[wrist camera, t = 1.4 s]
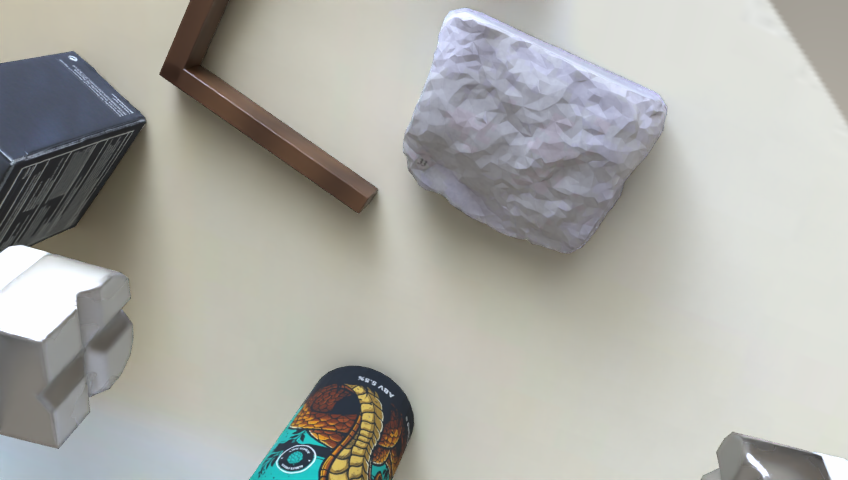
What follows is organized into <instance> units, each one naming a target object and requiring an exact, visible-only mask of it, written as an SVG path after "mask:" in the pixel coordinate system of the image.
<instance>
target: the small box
mask: <svg viewBox="0 0 848 480" xmlns="http://www.w3.org/2000/svg"><path fill="white" fill-rule="evenodd" d="M145 123H146V119H145V117H144V116H143V115H142V114H141V113H140V111H138V110H137V109H136V108H134V107H133V106H132V105H131V104H130V103H129V102H128V101H127V100H125V99H124V98H123V97H122V96H121V95H120V94H119V93H118V92H117V91H116V90H115V89H114V88H113V87H112V86H111V85H109V84H108V82H107V81H106V80H104V79H103V78H102V77H101V76H100V75H99V74H98V73H97V72H96V70H95V69H94V68H92V67H91V66H90V65H89V64H88V63H87V62H86V61H84V60H83V59H82V58H81V57H80V56H79V55H78V54H76V53H75V52H74V51H71V52H66V53H60V54H54V55H48V56H42V57H36V58H30V59H24V60H18V61H12V62H5V63H0V253H1V252H2V251H4V250H5V249H7V248H8V247H11V246H17V245H24V246H27V247H30V246H33V245H34V244H36V243H39V242H41V241H43V240H45V239H47V238H49V237H52V236H54V235H56V234H59V233H61V232H63V231H66V230H68V229H71V228H73V227H75V226H76V225H77V223H78V221H79V220H80V219H81V217H82V216H83V214H84V213H85V212H86V210H87V209H88V207H89V206H90V204H91V203H92V201H93V200H94V198H95V197H96V196H97V194H98V192H99V191H100V190H101V188H102V187H103V185H104V184H105V182H106V181H107V179H108V178H109V176H110V175H111V174H112V172H113V170H114V169H115V168H116V166H117V165H118V163H119V162H120V160H121V159H122V157H123V156H124V154H125V153H126V151H127V150H128V148H129V147H130V145H131V144H132V143H133V141H134V139H135V138H136V136H137V135H138V133H139V132H140V130H141V129H142V127H143V126H144V124H145Z"/></svg>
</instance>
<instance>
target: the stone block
mask: <svg viewBox="0 0 848 480" xmlns="http://www.w3.org/2000/svg"><path fill="white" fill-rule="evenodd" d="M438 40H439V43H438V47H437V49H436V51H435V53H434V59H433V64H432V67H431V70H430V73H429V76H428V79H427V81H426V84H425V86H424V89H423V91H422V94H421V96H420V99H419V102H418V104H417V105H416V107H415V110H414V114H413V117H412V120H411V122H410V124H409V126H408V127H407V129H406V132H405V136H404V141H403V153H404V154H405V155H406V156H407V159H408V161H407V163H408V169H409V172H410V173H411V174H412V175H413V177H414V178H415V180H416V181H417V183H418V184H419V186H421V187H422V188H424V189H425V190H429V191H432V192H436V193H439V194H441V195H442V196H444V197H445V198H447V200H448V201H449V202H450V204H451V205H452V206H454V207H455V208H457V209H458V210H460V211H462V212H463V213H465V214H466V215H467V216H469V217H471V218H473V219H475V220H477V221H479V222H481V223H486V224H487V225H488V226H490V227H491V228H493V229H495V230H497V231H498V232H499V233H503V234H506V235H508V236H511V237H514V238H518V239H527V240H528V241H530V242H531V243H532V244H536V245H540V246H544V247H547V248H549V249H553V250H556V251H559V252H562V253H571V252H573V251H575V250H577V249H579V248H581V247H583V246H584V244H585V243H586V242H587V241H588V240H589V239H590V237H591V236H592V235H593V234H594V233H595V231H596V230H597V228H598V227H599V225H600V223H601V222H602V221H603V220H604V217H605V215H606V214H607V212H608V211H609V210H610V209H612V208H613V206H614V204H615V202H616V201H617V200H618V198H619V197H620V196H621V193H622V189H623V185H624V182H625V180H626V179H627V178H628V177H629V176H630V174H631V173H632V171H633V170H634V169H635V168H636V166H637V165H639V164H640V163H641V162H642V160H643V159H644V158H645V157H646V156H647V155H648V153H649V152H650V150H651V149H652V147H653V146H654V144H655V143H656V141H657V140H658V138H659V137H660V135H661V133H662V131H663V129H664V122H665V118H666V115H667V106H666V104H665V103H664V101H663V99H662V98H661V96H660V95H659V94H658V93H656V92H654V91H652V90H649V89H647V88H645V87H643V86H641V85H639V84H636V83H634V82H632V81H630V80H627V79H625V78H623V77H621V76H619V75H616V74H614V73H612V72H610V71H608V70H605V69H603V68H601V67H599V66H597V65H594V64H592V63H590V62H588V61H586V60H584V59H582V58H579V57H577V56H575V55H573V54H571V53H569V52H566V51H564V50H562V49H560V48H557V47H555V46H553V45H551V44H549V43H547V42H544V41H542V40H539V39H537V38H535V37H533V36H531V35H529V34H526V33H524V32H522V31H520V30H518V29H516V28H514V27H512V26H510V25H508V24H505V23H503V22H500V21H499V20H497V19H495V18H492V17H490V16H488V15H486V14H484V13H482V12H478V11H475V10H472V9H469V8H462V9H457V10H453V11H450V12H449V13H448V15H447V16H446V17H445V19H444V22H443V24H442V27H441V30H440V33H439V36H438Z"/></svg>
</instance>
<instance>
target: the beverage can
mask: <svg viewBox="0 0 848 480" xmlns="http://www.w3.org/2000/svg"><path fill="white" fill-rule="evenodd" d="M413 426H414V417H413V412H412V408H411V404H410V402H409V400H408V398H407V396H406V395H405V393H404V392H403V391H402V389H401V388H400V387H399V386H398V385H397V384H396V383H395V382H394V381H393V380H391V379H390V378H389V377H387V376H385V375H384V374H382V373H381V372H378V371H376V370H373V369H370V368H366V367H361V366H345V367H340V368H337V369H334V370H332V371H330V372H328V373H327V374H325V375H324V376H323V377H322V378H321V379H320V380H319V381H318V383H317V384H316V385H315V387H314V388H313V390H312V391H311V393H310V394H309V395H308V397H307V398H306V400H305V401H304V403H303V404H302V405H301V407H300V408H299V410H298V411H297V412H296V414H295V415H294V417H293V418H292V420H291V421H290V422H289V424H288V425H287V427H286V428H285V430H284V431H283V432H282V434H281V435H280V437H279V438H278V440H277V441H276V442H275V444H274V445H273V447H272V448H271V450H270V451H269V452H268V454H267V455H266V457H265V458H264V459H263V461H262V462H261V464H260V465H259V467H258V468H257V469H256V471H255V472H254V474H253V475H252V477H251V478H250V479H249V480H392V479H393V476H394V474H395V472H396V469H397V467H398V465H399V462H400V460H401V458H402V455H403V453H404V451H405V448H406V446H407V444H408V441H409V439H410V437H411V434H412V431H413Z"/></svg>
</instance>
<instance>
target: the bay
mask: <svg viewBox="0 0 848 480" xmlns="http://www.w3.org/2000/svg"><path fill="white" fill-rule="evenodd" d="M228 2H229V0H190V2H189V5H188V7H187V10H186V12H185V14H184V17H183V19H182V21H181V24H180V26H179V29H178V31H177V33H176V36H175V38H174V41H173V43H172V45H171V48H170V50H169V52H168V55H167V57H166V59H165V62H164V64H163V67H162V69H161V71H160V75H161V76H162V77H163V78H165V79H166V80H168V81H169V82H171V83H172V84H173V85H175V86H176V87H178V88H179V89H181V90H182V91H183V92H185V93H186V94H188V95H189V96H191V97H192V98H193V99H195V100H196V101H198V102H199V103H201V104H202V105H204V106H205V107H206V108H208V109H209V110H211V111H212V112H214V113H215V114H216V115H218V116H219V117H221V118H222V119H224V120H225V121H226V122H228V123H229V124H231V125H232V126H234V127H235V128H236V129H238V130H239V131H241V132H242V133H244V134H245V135H247V136H248V137H249V138H251V139H252V140H254V141H255V142H257V143H258V144H259V145H261V146H262V147H264V148H265V149H267V150H268V151H269V152H271V153H272V154H274V155H275V156H277V157H278V158H279V159H281V160H282V161H284V162H285V163H287V164H288V165H290V166H291V167H292V168H294V169H295V170H297V171H298V172H300V173H301V174H302V175H304V176H305V177H307V178H308V179H310V180H311V181H312V182H314V183H315V184H317V185H318V186H320V187H321V188H322V189H324V190H325V191H327V192H328V193H330V194H331V195H333V196H334V197H335V198H337V199H338V200H340V201H341V202H343V203H344V204H345V205H347V206H348V207H350V208H351V209H353V210H354V211H355V212H357V213H360V212H361V211H362V210H363V209H364V208H365V207H366V206H367V205H368V204H369V203H370V202H371V200H372V198H373V197H374V195H375V194H376V192H377V191H378V189H377V188H376V187H375V186H373V185H372V184H370V183H369V182H368V181H366V180H365V179H363V178H362V177H360V176H359V175H358V174H356V173H355V172H353V171H352V170H350V169H349V168H348V167H346V166H345V165H343V164H342V163H340V162H339V161H338V160H336V159H335V158H333V157H332V156H330V155H329V154H327V153H326V152H325V151H323V150H322V149H320V148H319V147H317V146H316V145H315V144H313V143H312V142H310V141H309V140H307V139H306V138H305V137H303V136H302V135H300V134H299V133H297V132H296V131H295V130H293V129H292V128H290V127H289V126H287V125H286V124H285V123H283V122H282V121H280V120H279V119H277V118H276V117H274V116H273V115H272V114H270V113H269V112H267V111H266V110H264V109H263V108H262V107H260V106H259V105H257V104H256V103H254V102H253V101H252V100H250V99H249V98H247V97H246V96H244V95H243V94H242V93H240V92H239V91H237V90H236V89H234V88H233V87H232V86H230V85H229V84H227V83H226V82H224V81H223V80H221V79H220V78H219V77H217V76H216V75H214V74H213V73H211V72H210V71H209V70H207V69H206V68H204V67H203V66H201V65H200V64H201V62H202V60H203V58H204V56H205V53H206V51H207V49H208V47H209V44H210V42H211V40H212V38H213V35H214V33H215V31H216V29H217V26H218V24H219V22H220V20H221V17H222V15H223V13H224V11H225V9H226V6H227V4H228Z"/></svg>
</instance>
